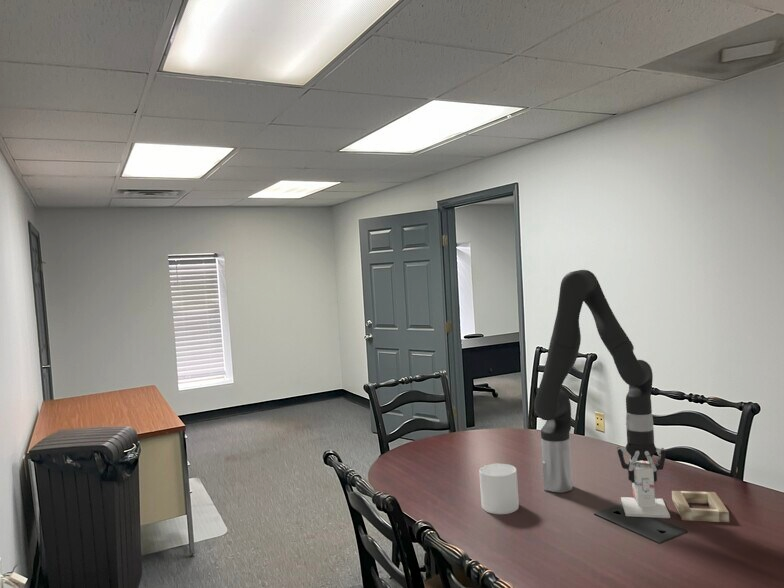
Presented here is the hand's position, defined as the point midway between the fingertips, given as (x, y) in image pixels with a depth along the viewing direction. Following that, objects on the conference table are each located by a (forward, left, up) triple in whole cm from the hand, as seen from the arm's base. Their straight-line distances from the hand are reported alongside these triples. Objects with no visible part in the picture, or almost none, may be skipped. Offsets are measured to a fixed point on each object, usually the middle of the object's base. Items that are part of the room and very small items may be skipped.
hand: (642, 481), depth 171 cm
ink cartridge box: (0, 0, -6) cm, 6 cm away
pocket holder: (+15, 0, -8) cm, 17 cm away
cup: (-43, -3, -8) cm, 44 cm away
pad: (0, 0, -8) cm, 8 cm away
